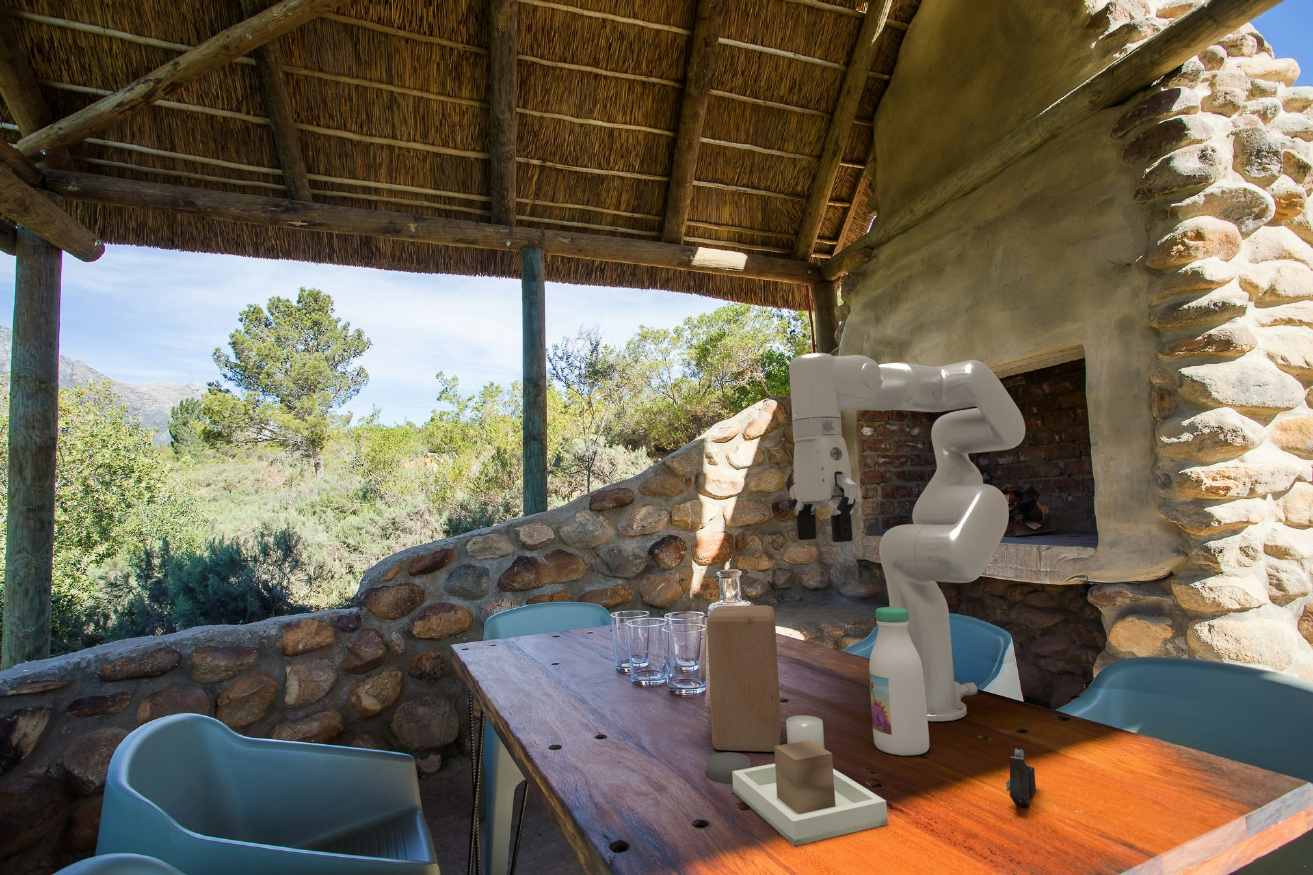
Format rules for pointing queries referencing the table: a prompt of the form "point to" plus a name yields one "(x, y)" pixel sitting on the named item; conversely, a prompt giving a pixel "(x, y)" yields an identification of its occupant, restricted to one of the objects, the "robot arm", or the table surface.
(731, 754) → the gray rounded object
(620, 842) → the table surface
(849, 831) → the tray
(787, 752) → the walnut block
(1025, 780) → the lighter
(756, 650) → the wooden block
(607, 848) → the table surface
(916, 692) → the milk bottle
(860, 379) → the robot arm
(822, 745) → the white rounded cylinder
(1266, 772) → the table surface
